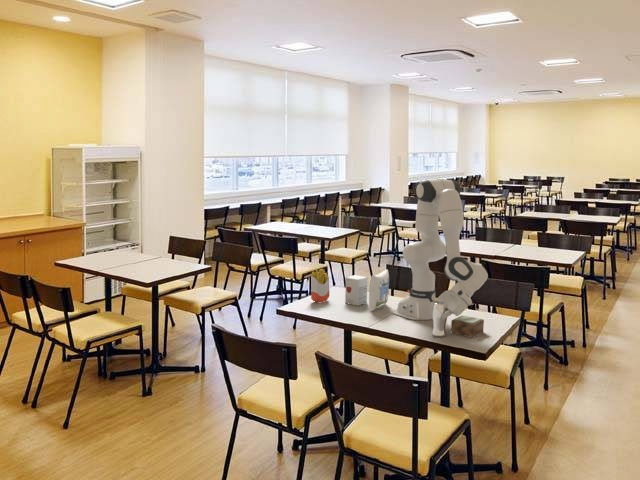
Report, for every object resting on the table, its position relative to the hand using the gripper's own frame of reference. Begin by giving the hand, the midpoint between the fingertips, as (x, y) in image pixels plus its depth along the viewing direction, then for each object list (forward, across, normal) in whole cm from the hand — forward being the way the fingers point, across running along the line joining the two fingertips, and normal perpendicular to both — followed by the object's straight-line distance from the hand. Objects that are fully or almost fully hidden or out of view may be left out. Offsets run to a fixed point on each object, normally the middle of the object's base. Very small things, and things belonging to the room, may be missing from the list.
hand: (438, 315), depth 262 cm
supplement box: (+23, -63, -8) cm, 67 cm away
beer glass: (+6, 0, +7) cm, 9 cm away
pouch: (+16, -51, -2) cm, 54 cm away
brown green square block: (-4, -2, +18) cm, 18 cm away
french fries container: (+36, -70, -21) cm, 81 cm away
